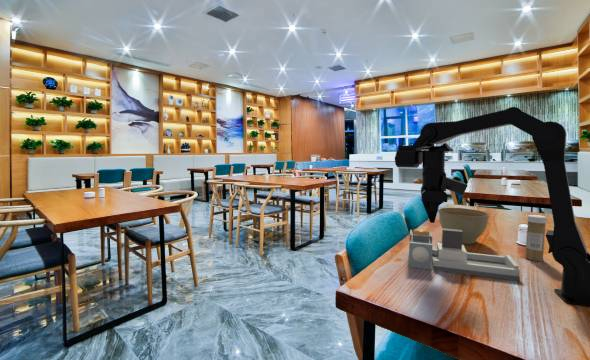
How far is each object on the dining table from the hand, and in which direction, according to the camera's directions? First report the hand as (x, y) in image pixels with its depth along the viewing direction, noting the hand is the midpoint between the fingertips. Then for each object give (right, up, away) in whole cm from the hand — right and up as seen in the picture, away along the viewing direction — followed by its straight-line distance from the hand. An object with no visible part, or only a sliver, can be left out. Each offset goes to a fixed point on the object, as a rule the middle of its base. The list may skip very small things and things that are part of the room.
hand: (432, 222), depth 89 cm
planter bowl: (+22, -10, +25) cm, 35 cm away
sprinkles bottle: (+34, -12, +6) cm, 36 cm away
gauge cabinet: (-2, -12, +4) cm, 13 cm away
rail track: (+10, -13, -1) cm, 16 cm away
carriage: (+6, -11, +1) cm, 12 cm away
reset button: (-2, -5, +3) cm, 6 cm away
